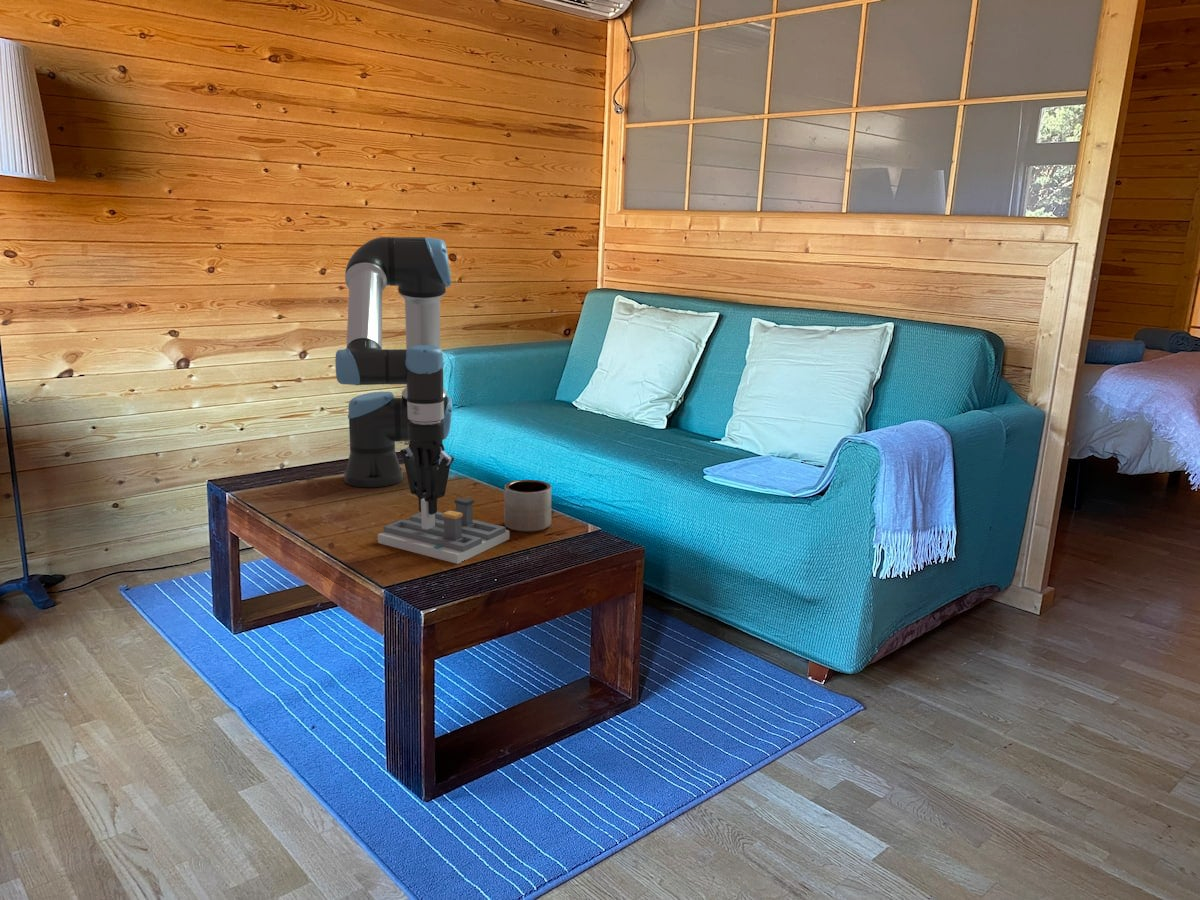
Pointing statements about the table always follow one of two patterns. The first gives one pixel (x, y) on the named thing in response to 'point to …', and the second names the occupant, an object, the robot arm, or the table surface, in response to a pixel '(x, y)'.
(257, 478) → the table surface
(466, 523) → the fader
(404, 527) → the console
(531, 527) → the planter
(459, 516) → the fader
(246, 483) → the table surface
